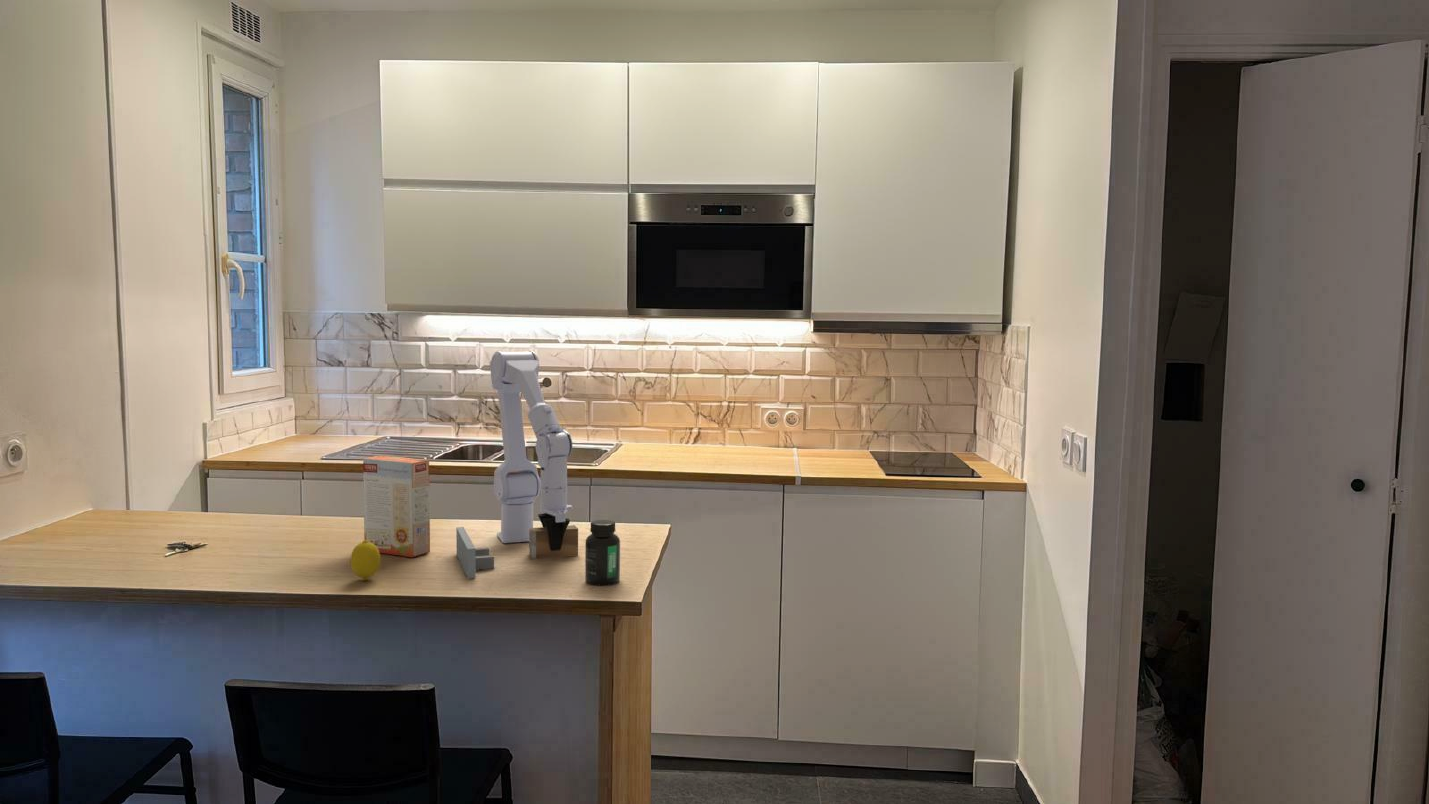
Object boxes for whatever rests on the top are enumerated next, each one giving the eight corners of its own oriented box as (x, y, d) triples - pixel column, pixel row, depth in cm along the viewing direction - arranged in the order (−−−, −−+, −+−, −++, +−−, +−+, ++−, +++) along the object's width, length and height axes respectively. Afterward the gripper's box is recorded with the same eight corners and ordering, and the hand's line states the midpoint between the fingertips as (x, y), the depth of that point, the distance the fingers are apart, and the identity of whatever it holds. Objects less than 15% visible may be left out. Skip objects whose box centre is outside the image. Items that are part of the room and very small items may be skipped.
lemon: (355, 576, 188) (355, 537, 187) (384, 576, 188) (383, 537, 187) (347, 584, 182) (346, 543, 181) (376, 584, 183) (375, 543, 182)
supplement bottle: (620, 585, 185) (621, 525, 183) (585, 586, 183) (586, 526, 182) (618, 576, 191) (619, 518, 190) (584, 577, 190) (585, 518, 189)
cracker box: (431, 552, 207) (430, 458, 205) (412, 559, 201) (411, 462, 199) (383, 545, 213) (382, 453, 211) (363, 551, 207) (361, 457, 205)
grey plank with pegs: (456, 554, 206) (456, 527, 205) (484, 552, 208) (484, 525, 208) (467, 578, 187) (467, 549, 187) (498, 576, 190) (498, 546, 189)
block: (529, 554, 207) (529, 528, 206) (574, 551, 210) (574, 525, 210) (532, 559, 203) (532, 531, 203) (578, 555, 207) (578, 528, 206)
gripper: (579, 492, 200) (579, 554, 201) (564, 480, 214) (564, 538, 215) (546, 493, 198) (546, 556, 199) (533, 481, 211) (533, 541, 212)
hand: (553, 547), depth 207 cm, fingers closed on block, 3 cm apart
